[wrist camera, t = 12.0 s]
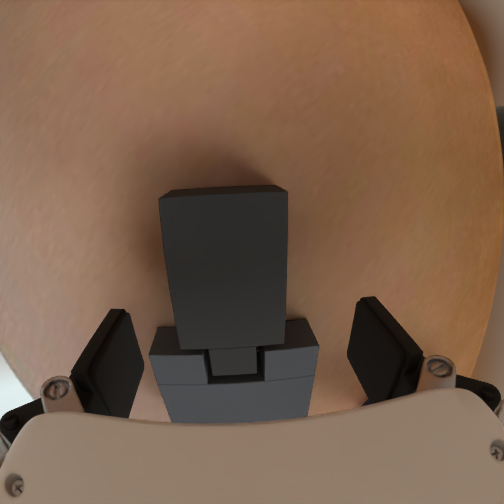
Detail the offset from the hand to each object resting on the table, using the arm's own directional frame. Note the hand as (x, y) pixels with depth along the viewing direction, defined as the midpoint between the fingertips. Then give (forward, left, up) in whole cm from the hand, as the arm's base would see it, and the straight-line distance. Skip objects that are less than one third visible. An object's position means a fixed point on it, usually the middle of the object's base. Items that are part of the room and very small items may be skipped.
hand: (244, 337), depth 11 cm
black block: (+1, +1, -9) cm, 10 cm away
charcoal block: (+1, +11, -9) cm, 14 cm away
